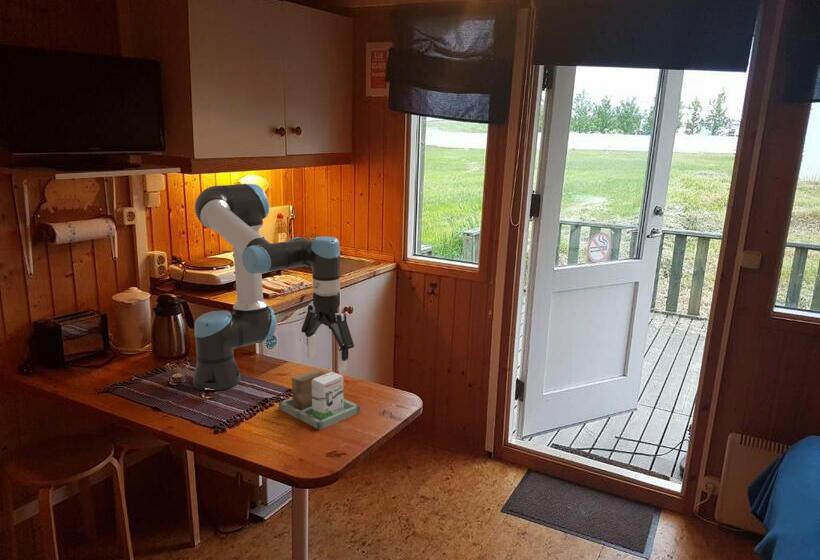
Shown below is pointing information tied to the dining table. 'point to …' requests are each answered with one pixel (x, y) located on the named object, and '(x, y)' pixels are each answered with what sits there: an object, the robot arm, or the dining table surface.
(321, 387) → the ink box
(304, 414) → the slot board
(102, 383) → the dining table surface
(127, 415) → the dining table surface
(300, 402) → the walnut block
